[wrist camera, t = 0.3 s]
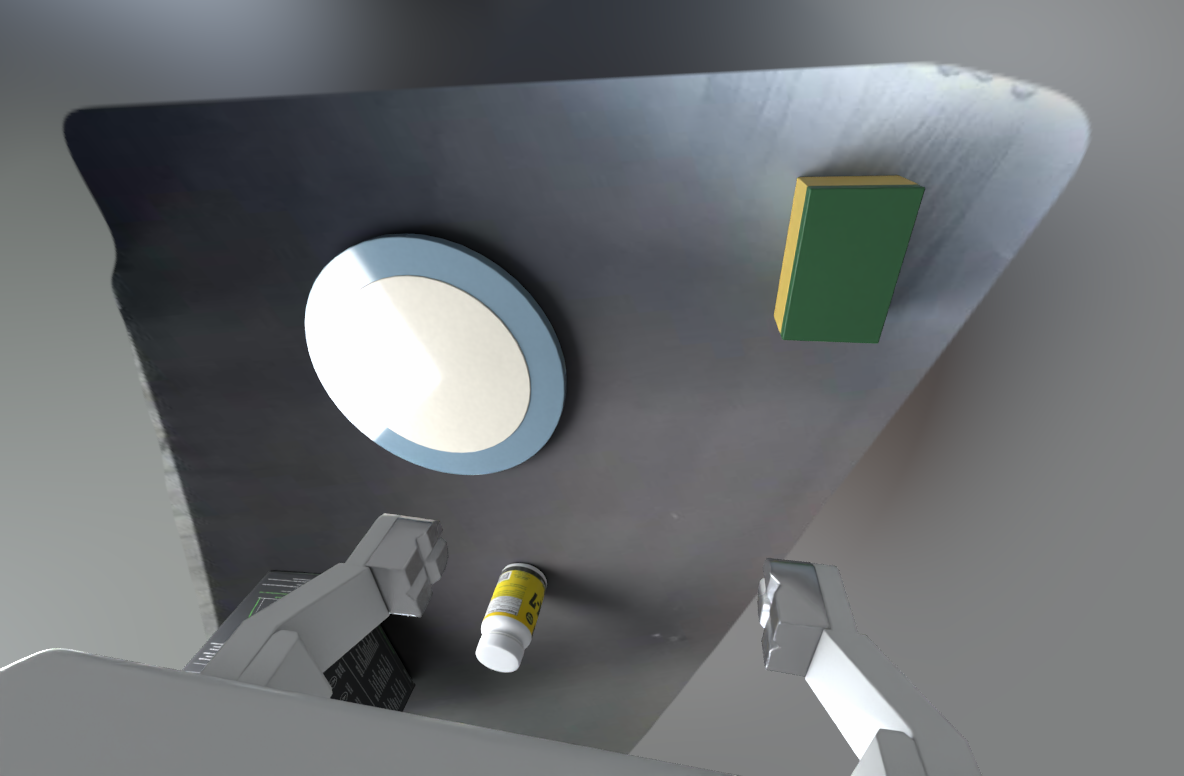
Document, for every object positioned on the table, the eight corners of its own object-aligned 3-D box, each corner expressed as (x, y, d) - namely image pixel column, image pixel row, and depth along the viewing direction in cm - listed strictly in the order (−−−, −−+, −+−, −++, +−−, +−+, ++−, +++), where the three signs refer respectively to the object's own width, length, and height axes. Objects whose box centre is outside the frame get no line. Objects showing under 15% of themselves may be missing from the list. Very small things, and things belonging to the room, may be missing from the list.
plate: (270, 232, 33) (260, 236, 32) (555, 233, 30) (551, 237, 29) (358, 458, 44) (351, 465, 43) (575, 477, 40) (572, 486, 39)
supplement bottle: (549, 595, 49) (525, 679, 42) (505, 588, 50) (475, 670, 43) (546, 564, 47) (521, 649, 40) (500, 557, 48) (467, 639, 41)
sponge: (797, 177, 26) (810, 188, 23) (899, 175, 25) (926, 187, 22) (773, 315, 30) (782, 340, 27) (860, 318, 29) (878, 344, 26)
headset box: (265, 567, 56) (0, 867, 35) (353, 573, 54) (127, 901, 32) (343, 673, 68) (180, 948, 46) (419, 682, 65) (285, 978, 44)
